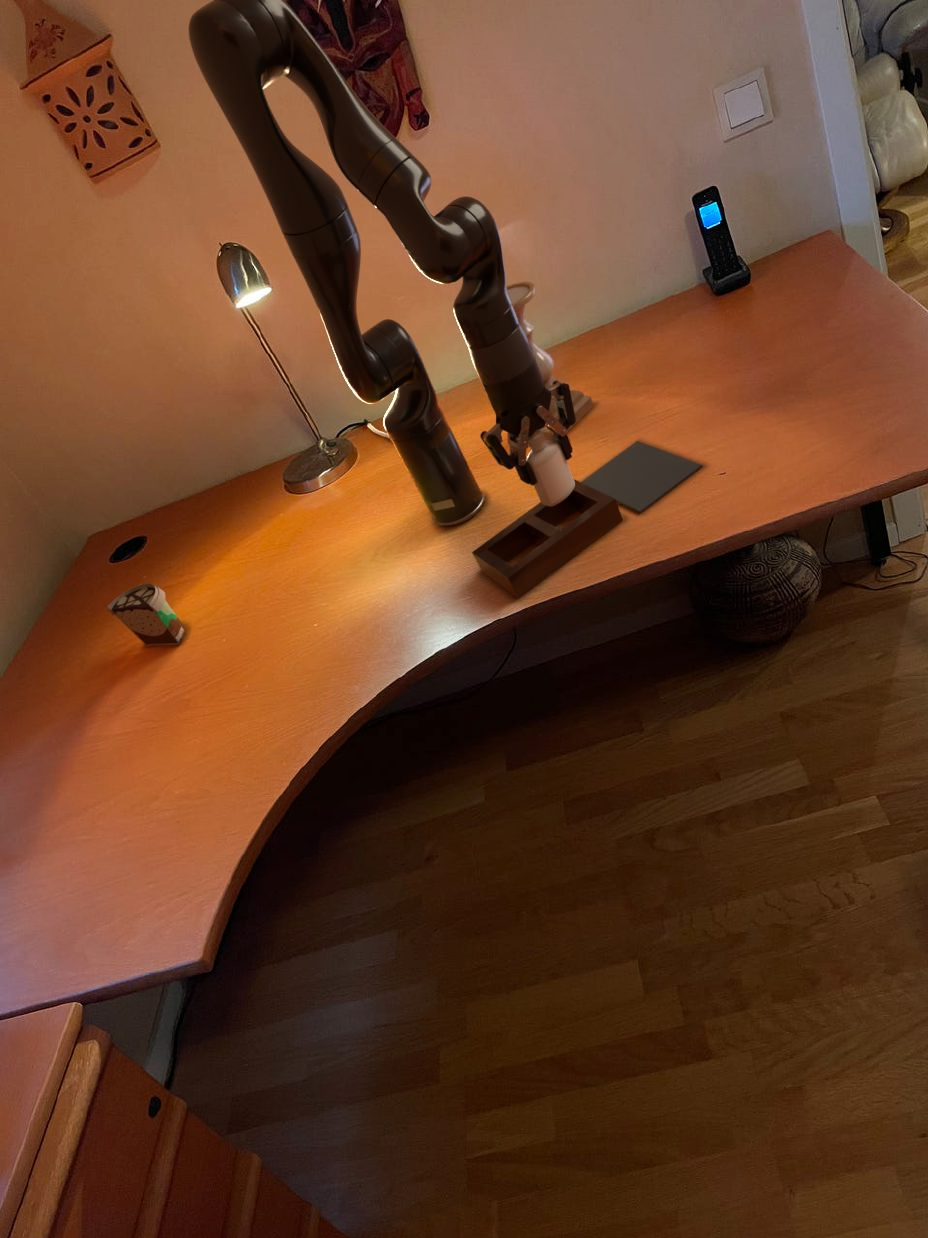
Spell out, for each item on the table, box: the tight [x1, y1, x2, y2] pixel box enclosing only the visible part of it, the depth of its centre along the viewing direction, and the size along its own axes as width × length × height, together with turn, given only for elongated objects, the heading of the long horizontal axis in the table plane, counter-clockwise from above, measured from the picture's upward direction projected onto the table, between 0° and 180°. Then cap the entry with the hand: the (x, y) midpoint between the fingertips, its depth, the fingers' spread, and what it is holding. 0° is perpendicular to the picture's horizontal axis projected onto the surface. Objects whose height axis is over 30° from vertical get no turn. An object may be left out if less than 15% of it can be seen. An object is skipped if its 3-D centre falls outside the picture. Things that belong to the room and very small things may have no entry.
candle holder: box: [506, 281, 595, 441], centre depth 143 cm, size 11×11×24 cm
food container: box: [107, 582, 187, 646], centre depth 148 cm, size 12×6×10 cm, turn 65°
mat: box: [580, 440, 703, 514], centre depth 126 cm, size 15×12×1 cm
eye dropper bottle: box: [526, 429, 575, 506], centre depth 116 cm, size 4×6×12 cm
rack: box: [471, 478, 624, 600], centre depth 121 cm, size 11×19×4 cm, turn 118°
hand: (548, 469), depth 117 cm, fingers closed on eye dropper bottle, 5 cm apart
